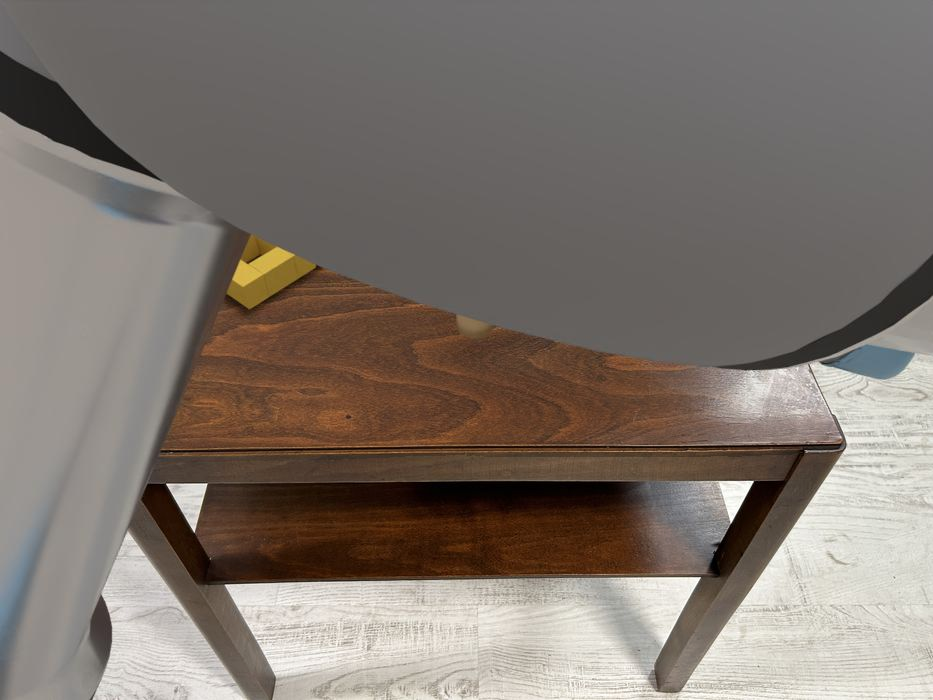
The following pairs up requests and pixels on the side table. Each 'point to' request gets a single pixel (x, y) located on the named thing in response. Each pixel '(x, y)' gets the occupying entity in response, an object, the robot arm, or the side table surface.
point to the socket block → (265, 272)
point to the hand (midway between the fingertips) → (421, 171)
